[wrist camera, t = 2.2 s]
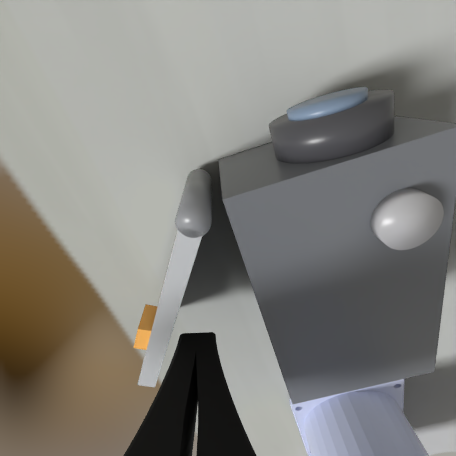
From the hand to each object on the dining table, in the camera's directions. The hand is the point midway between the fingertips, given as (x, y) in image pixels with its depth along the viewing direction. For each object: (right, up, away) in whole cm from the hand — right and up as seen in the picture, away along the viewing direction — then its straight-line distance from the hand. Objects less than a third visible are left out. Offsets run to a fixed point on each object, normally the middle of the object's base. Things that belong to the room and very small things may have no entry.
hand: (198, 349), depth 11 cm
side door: (-1, +4, +1) cm, 4 cm away
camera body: (+5, +4, +2) cm, 7 cm away
